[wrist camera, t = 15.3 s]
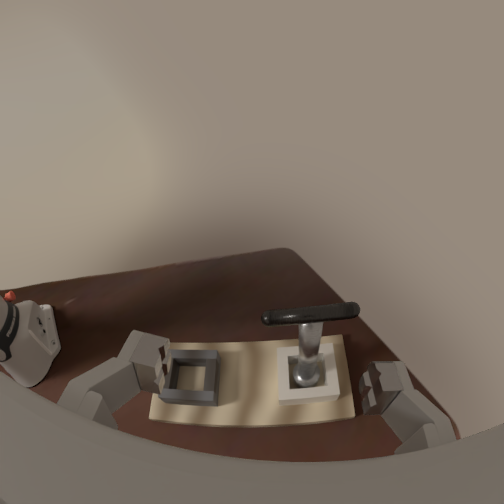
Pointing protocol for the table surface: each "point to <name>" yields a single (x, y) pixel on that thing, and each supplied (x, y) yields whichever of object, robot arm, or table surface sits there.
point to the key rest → (314, 393)
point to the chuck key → (309, 334)
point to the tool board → (242, 387)
